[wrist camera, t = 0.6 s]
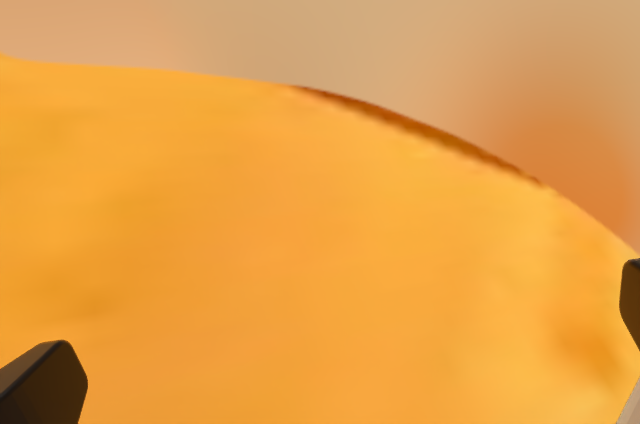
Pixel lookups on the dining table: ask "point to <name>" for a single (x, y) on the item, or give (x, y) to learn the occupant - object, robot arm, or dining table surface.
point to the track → (631, 408)
